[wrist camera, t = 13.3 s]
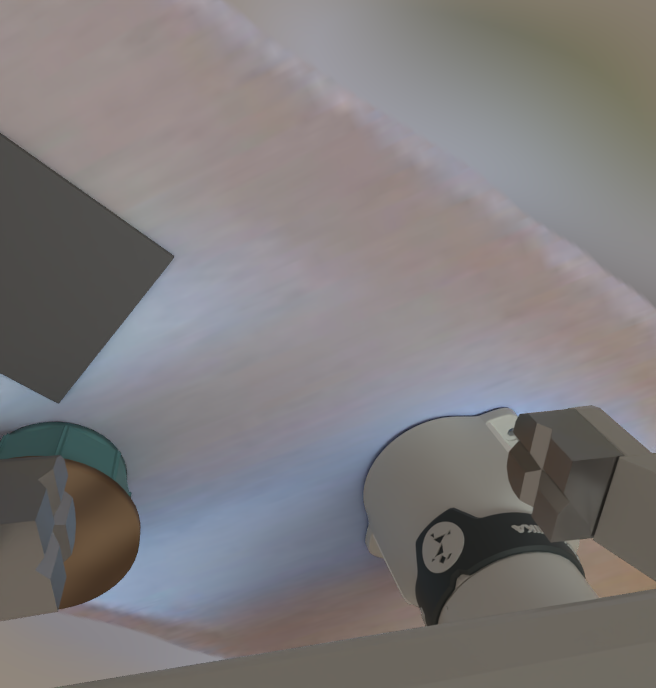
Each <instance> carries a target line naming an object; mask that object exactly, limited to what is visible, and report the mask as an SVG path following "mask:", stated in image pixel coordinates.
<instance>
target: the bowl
mask: <svg viewBox="0 0 656 688" xmlns="http://www.w3.org/2000/svg"><path fill="white" fill-rule="evenodd" d="M54 455H61V456H62V457H63V458H64V459H69V460H73V461H76V462H80V463H83V464H86V465H88V466H90V467H93V468H95V469H97V470H99V471H101V472H103V473H104V474H106V475H108V476H109V477H110V478H112V479H113V480H114V481H116V482H117V483H118V484H119V485H120V486H121V487H122V488H123V489H124V490H125V491H126V492H127V494H128V495H129V496H130V497H131V494H132V493H131V492H129V488H128V484H127V469H126V464H125V462H124V459H123V457H122V455H121V453H120V452H119V451H118V449H117V448H116V447H115V446H114V445H113V444H112V443H111V442H110V441H109V440H108V439H107V438H105V437H104V436H103V435H101V434H99V433H98V432H96V431H94V430H91V429H89V428H87V427H84V426H80V425H77V424H72V423H65V422H43V423H37V424H32V425H29V426H25V427H22V428H20V429H18V430H16V431H14V432H12V433H10V434H8V433H7V435H4V436H3V437H2V439H1V441H0V459H9V458H14V457H23V456H54Z"/></svg>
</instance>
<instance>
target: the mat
mask: <svg viewBox="0 0 656 688" xmlns="http://www.w3.org/2000/svg"><path fill="white" fill-rule="evenodd" d="M173 258H174V256H173V255H172V254H171V253H169V252H168V251H166V250H165V249H164V248H162V247H161V246H159V245H158V244H156V243H155V242H154V241H152V240H151V239H149V238H148V237H147V236H145V235H144V234H142V233H141V232H139V231H138V230H137V229H135V228H134V227H132V226H131V225H130V224H128V223H127V222H125V221H124V220H123V219H121V218H120V217H118V216H117V215H115V214H114V213H113V212H111V211H110V210H108V209H107V208H106V207H104V206H103V205H101V204H100V203H98V202H97V201H96V200H94V199H93V198H91V197H90V196H89V195H87V194H86V193H84V192H83V191H81V190H80V189H79V188H77V187H76V186H74V185H73V184H72V183H70V182H69V181H67V180H66V179H65V178H63V177H62V176H60V175H59V174H57V173H56V172H55V171H53V170H52V169H50V168H49V167H48V166H46V165H45V164H43V163H42V162H40V161H39V160H38V159H36V158H35V157H33V156H32V155H31V154H29V153H28V152H26V151H25V150H23V149H22V148H21V147H19V146H18V145H16V144H15V143H14V142H12V141H11V140H9V139H8V138H7V137H5V136H4V135H2V134H1V133H0V373H1V374H3V375H5V376H7V377H9V378H10V379H12V380H14V381H16V382H18V383H20V384H22V385H24V386H26V387H28V388H30V389H32V390H33V391H35V392H37V393H39V394H41V395H43V396H45V397H47V398H49V399H51V400H53V401H54V402H56V403H58V404H59V402H60V401H61V400H62V399H63V397H64V396H65V395H66V394H67V392H68V391H69V390H70V389H71V387H72V386H73V385H74V383H75V382H76V381H77V380H78V378H79V377H80V376H81V375H82V373H83V372H84V371H85V370H86V368H87V367H88V366H89V365H90V363H91V362H92V361H93V359H94V358H95V357H96V356H97V354H98V353H99V352H100V351H101V349H102V348H103V347H104V346H105V344H106V343H107V342H108V341H109V339H110V338H111V337H112V336H113V334H114V333H115V332H116V330H117V329H118V328H119V327H120V325H121V324H122V323H123V322H124V320H125V319H126V318H127V317H128V315H129V314H130V313H131V312H132V310H133V309H134V308H135V306H136V305H137V304H138V303H139V301H140V300H141V299H142V298H143V296H144V295H145V294H146V293H147V291H148V290H149V289H150V288H151V286H152V285H153V284H154V282H155V281H156V280H157V279H158V277H159V276H160V275H161V274H162V272H163V271H164V270H165V269H166V267H167V266H168V265H169V264H170V262H171V261H172V260H173Z"/></svg>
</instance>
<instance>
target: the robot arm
mask: <svg viewBox="0 0 656 688" xmlns="http://www.w3.org/2000/svg"><path fill="white" fill-rule="evenodd" d="M511 428H512V429H511ZM510 429H511V430H510ZM509 430H510V431H509ZM67 478H68V473H67V468H66V464H65V460H64V459H63V457H62V456H61V455H54V456H40V457H26V458H12V459H0V621H5V620H10V619H17V618H22V617H28V616H34V615H40V614H46V613H53V612H58V609H59V605H60V601H61V597H62V593H63V589H64V585H65V581H66V572H65V568H64V563H63V562H65V561H66V560H67V559H68V558H69V557H70V556H71V555H72V551H73V547H74V542H75V530H76V517H75V507H74V502H73V497H72V496H71V495H69V494H68V493H67V492H65V491H64V489H65V485H66V482H67ZM363 500H364V506H365V510H366V513H367V516H368V522H369V524H368V528H367V533H366V538H365V544H366V546H367V548H368V550H369V552H370V553H371V554H372V555H374V556H377V557H380V558H383V559H384V560H385V562H386V564H387V566H388V568H389V570H390V573H391V575H392V577H393V579H394V581H395V583H396V585H397V587H398V589H399V591H400V593H401V595H402V597H403V598H404V600H405V601H406V602H407V603H408V604H409V605H411V604H413V605H415V606H417V607H419V608H420V610H421V613H422V614H421V616H422V619H423V621H424V624H425V627H419V628H413V629H407V630H401V631H395V632H389V633H383V634H377V635H371V636H365V637H359V638H353V639H347V640H341V641H335V642H329V643H322V644H316V645H310V646H304V647H298V648H292V649H286V650H280V651H274V652H268V653H262V654H256V655H250V656H244V657H238V658H231V659H225V660H219V661H213V662H207V663H201V664H196V665H190V666H184V667H177V668H171V669H165V670H158V671H153V672H146V673H140V674H135V675H129V676H122V677H116V678H110V679H104V680H98V681H92V682H85V683H79V684H73V685H67V686H62V687H55V688H656V589H652V590H646V591H640V592H634V593H628V594H622V595H616V596H610V597H604V598H599V596H598V595H597V594H596V593H595V591H594V590H593V589H592V587H591V586H590V585H589V583H588V582H587V581H586V579H585V573H584V570H583V568H582V565H581V563H580V560H579V558H578V556H577V554H576V553H577V550H578V547H579V542H580V539H587V538H593V540H594V541H595V542H597V543H598V544H600V545H601V546H603V547H604V548H606V549H607V550H609V551H610V552H612V553H613V554H615V555H617V556H618V557H620V558H621V559H623V560H624V561H626V562H627V563H629V564H630V565H632V566H633V567H635V568H636V569H638V570H639V571H641V572H642V573H644V574H645V575H647V576H648V577H650V578H651V579H653V580H654V581H656V453H651V452H650V451H649V450H648V449H646V448H645V447H644V446H643V445H642V444H641V443H640V442H638V441H637V440H636V439H635V438H634V437H633V436H631V435H630V434H629V433H628V432H627V431H626V430H625V429H623V428H622V427H621V426H620V425H619V424H618V423H616V422H615V421H614V420H613V419H612V418H611V417H610V416H608V415H607V414H606V413H605V412H604V411H603V410H601V409H600V408H598V407H595V406H592V405H591V406H583V407H575V408H568V409H564V410H554V411H544V412H534V413H525V414H520V415H519V417H518V416H517V415H516V413H515V412H514V411H513V410H512V409H510V408H501V409H497V410H493V411H490V412H488V413H485V414H482V415H479V416H472V417H445V418H439V419H435V420H431V421H428V422H425V423H423V424H420V425H418V426H416V427H414V428H412V429H410V430H408V431H406V432H405V433H403V434H402V435H400V436H399V437H397V438H396V439H395V440H393V441H392V442H391V443H390V444H389V445H388V446H387V447H386V448H385V449H384V450H383V451H382V452H381V453H380V455H379V456H378V457H377V458H376V460H375V461H374V463H373V465H372V466H371V468H370V470H369V472H368V475H367V477H366V481H365V484H364V491H363Z"/></svg>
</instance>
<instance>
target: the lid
mask: <svg viewBox="0 0 656 688" xmlns="http://www.w3.org/2000/svg"><path fill="white" fill-rule="evenodd" d="M26 457H40V456H23V457H14V458H26ZM9 459H12V458H9ZM63 459H64V458H63ZM64 460H65V464H66V468H67V473H68V478H67V482H66V485H65V489H64V491H65V492H67V493H68V494H69V495H71V496H72V497H73V502H74V507H75V517H76V530H75V542H74V547H73V551H72V555H71V556H70V557H69V558H68V559H67V560H66V561H65V562H63V563H64V568H65V572H66V581H65V585H64V589H63V593H62V597H61V601H60V605H59V609H64V608H68V607H72V606H76V605H79V604H82V603H85V602H87V601H90V600H92V599H94V598H96V597H98V596H100V595H102V594H103V593H105V592H107V591H108V590H110V589H111V588H112V587H114V586H115V585H116V584H117V583H118V582H119V581H120V580H121V579H122V578H123V577H124V576H125V575H126V574H127V572H128V571H129V570H130V568H131V566H132V564H133V563H134V561H135V558H136V555H137V553H138V547H139V541H140V519H139V514H138V512H137V509H136V506H135V504H134V503H133V501H132V499H131V497H130V496H129V495H128V494H127V492H126V491H125V490H124V489H123V488H122V487H121V486H120V485H119V484H118V483H117V482H116V481H114V480H113V479H112V478H110V477H109V476H108V475H106V474H104V473H103V472H101V471H99V470H97V469H95V468H93V467H90V466H88V465H86V464H83V463H80V462H76V461H73V460H69V459H64Z"/></svg>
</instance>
